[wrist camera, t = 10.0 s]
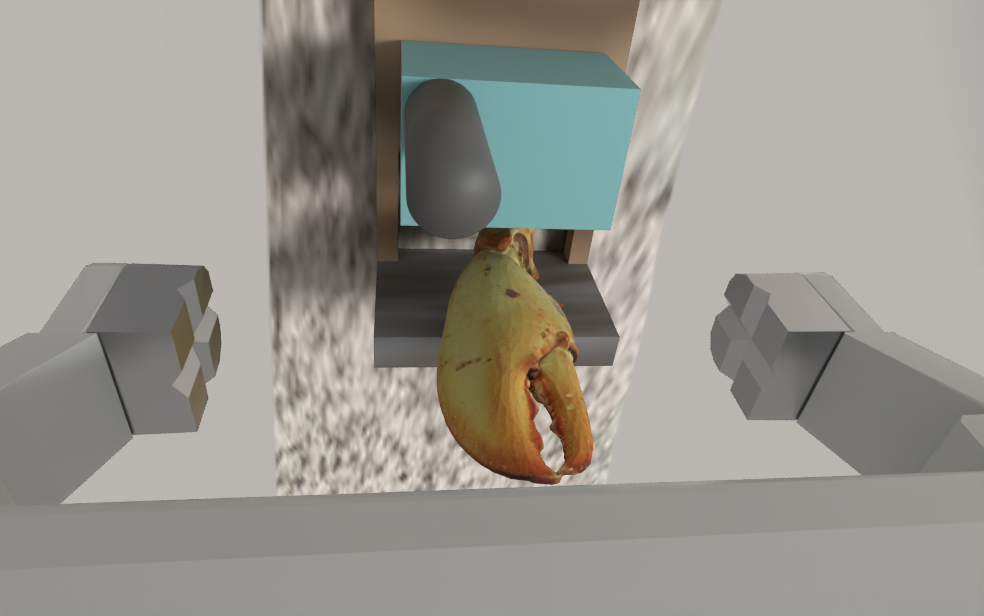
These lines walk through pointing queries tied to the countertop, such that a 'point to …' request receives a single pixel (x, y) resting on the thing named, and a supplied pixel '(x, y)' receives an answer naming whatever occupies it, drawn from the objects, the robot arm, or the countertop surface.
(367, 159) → the countertop surface
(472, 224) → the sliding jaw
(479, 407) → the crab claw
